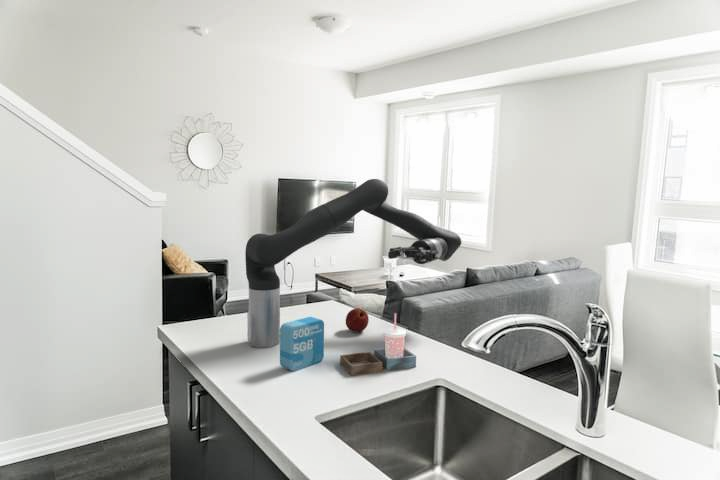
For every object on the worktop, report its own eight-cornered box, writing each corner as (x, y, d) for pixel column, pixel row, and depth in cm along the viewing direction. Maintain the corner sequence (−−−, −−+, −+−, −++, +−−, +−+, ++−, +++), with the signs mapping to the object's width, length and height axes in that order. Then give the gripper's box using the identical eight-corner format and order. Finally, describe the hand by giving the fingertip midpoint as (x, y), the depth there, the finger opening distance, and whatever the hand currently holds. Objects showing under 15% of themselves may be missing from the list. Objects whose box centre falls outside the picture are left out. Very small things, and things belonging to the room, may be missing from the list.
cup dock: (351, 375, 125) (351, 364, 125) (340, 364, 133) (340, 353, 132) (415, 366, 132) (416, 356, 132) (401, 356, 140) (401, 346, 139)
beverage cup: (379, 360, 136) (380, 311, 134) (398, 357, 138) (400, 309, 137) (389, 368, 130) (390, 317, 129) (409, 365, 133) (410, 315, 131)
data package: (290, 372, 126) (290, 327, 125) (279, 368, 129) (279, 323, 128) (324, 361, 135) (324, 318, 134) (313, 357, 138) (313, 315, 137)
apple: (352, 336, 157) (352, 312, 157) (341, 329, 164) (341, 306, 163) (371, 333, 161) (372, 309, 160) (360, 327, 168) (360, 304, 167)
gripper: (406, 237, 159) (381, 241, 146) (447, 240, 152) (425, 245, 138) (406, 260, 160) (381, 266, 146) (446, 264, 152) (424, 272, 139)
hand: (402, 256), depth 142 cm, fingers open, 8 cm apart
